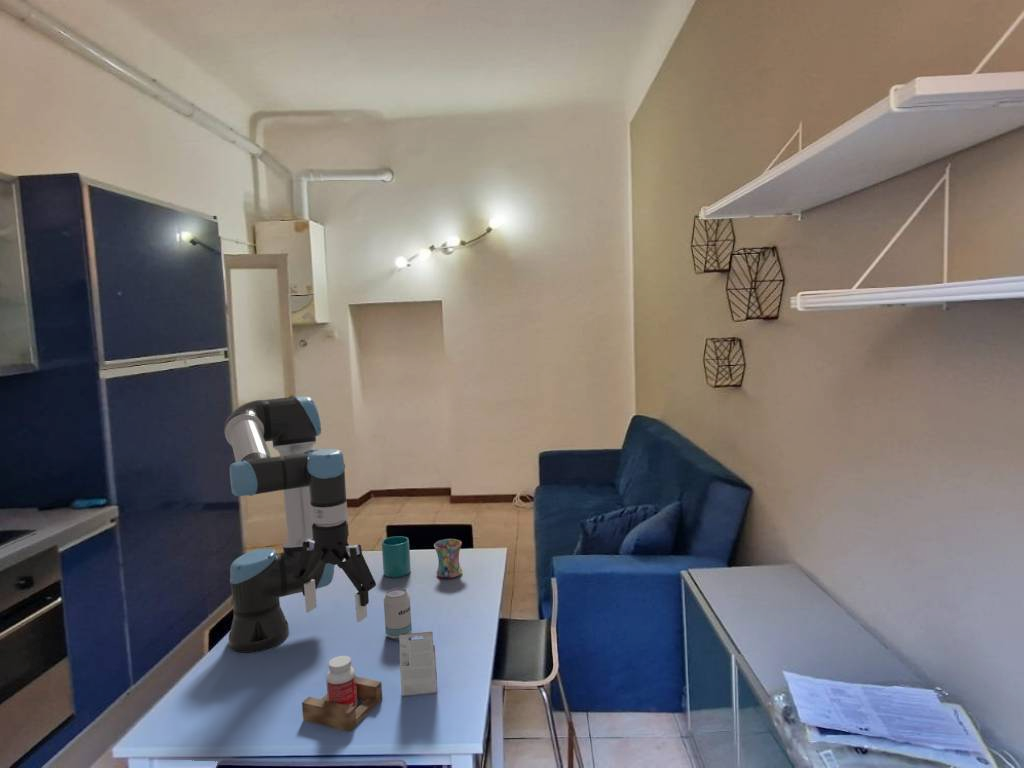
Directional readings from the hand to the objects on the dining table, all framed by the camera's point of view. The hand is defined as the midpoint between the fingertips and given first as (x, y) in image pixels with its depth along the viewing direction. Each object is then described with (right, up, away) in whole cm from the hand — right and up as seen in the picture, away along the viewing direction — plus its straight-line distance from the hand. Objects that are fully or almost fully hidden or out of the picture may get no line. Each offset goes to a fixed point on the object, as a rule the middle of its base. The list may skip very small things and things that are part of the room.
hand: (336, 614), depth 137 cm
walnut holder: (+2, -20, -1) cm, 20 cm away
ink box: (+18, -19, +4) cm, 27 cm away
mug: (+18, -13, +68) cm, 72 cm away
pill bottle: (+2, -20, -1) cm, 21 cm away
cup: (0, -13, +74) cm, 76 cm away
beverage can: (+8, -17, +30) cm, 36 cm away
